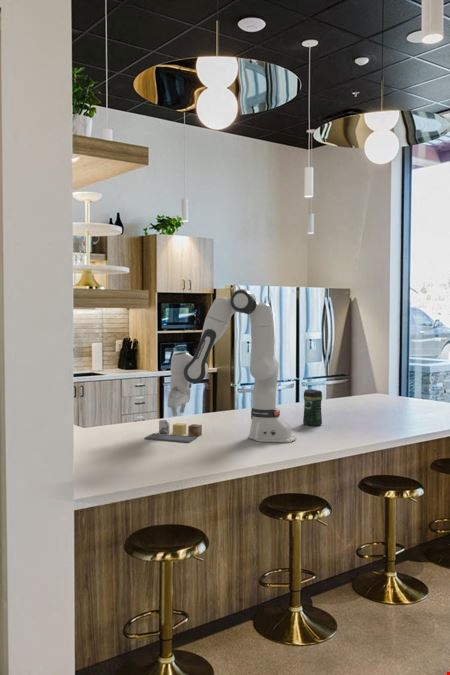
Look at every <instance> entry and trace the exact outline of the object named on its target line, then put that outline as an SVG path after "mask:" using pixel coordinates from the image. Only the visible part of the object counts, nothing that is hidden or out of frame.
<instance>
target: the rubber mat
mask: <svg viewBox="0 0 450 675" xmlns="http://www.w3.org/2000/svg"><path fill="white" fill-rule="evenodd" d="M197 438H198V437H193V436H188V435H183V436H180V435H173V434H159V433H154V432H153V433H151V434H149V435H147V436H145V437H144V440H150V441H151V440H152V441H161V442H174V443H184V444H185V443H186V444H189V443H191V442H193V441H194V440H196V439H197Z"/></svg>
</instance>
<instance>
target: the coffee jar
mask: <svg viewBox="0 0 450 675" xmlns="http://www.w3.org/2000/svg"><path fill="white" fill-rule="evenodd" d="M303 400H304V406H303V416H302V417H303V419H302V421H303V422H302V423H303V424H304V425H306V424H307V425H306V426H311V425H313V427H314V426H316V425H319V426H321V425H322V424H323V419H322V418H323V415H322V400H323V391H322V390H318V389H305V390H304V391H303Z"/></svg>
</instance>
